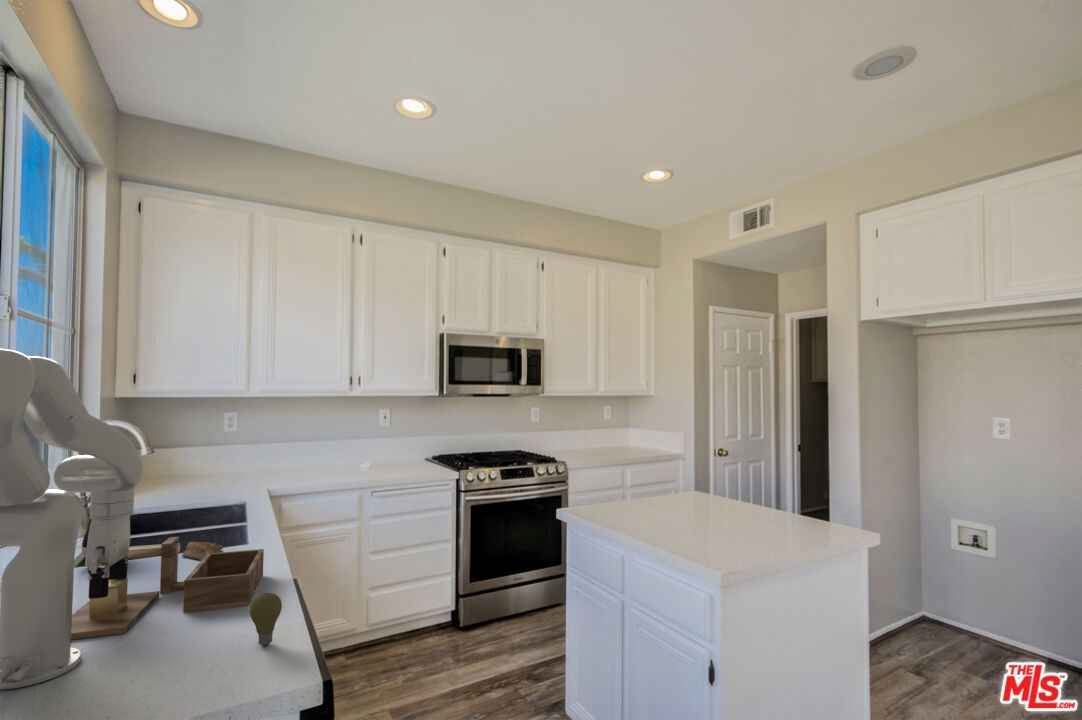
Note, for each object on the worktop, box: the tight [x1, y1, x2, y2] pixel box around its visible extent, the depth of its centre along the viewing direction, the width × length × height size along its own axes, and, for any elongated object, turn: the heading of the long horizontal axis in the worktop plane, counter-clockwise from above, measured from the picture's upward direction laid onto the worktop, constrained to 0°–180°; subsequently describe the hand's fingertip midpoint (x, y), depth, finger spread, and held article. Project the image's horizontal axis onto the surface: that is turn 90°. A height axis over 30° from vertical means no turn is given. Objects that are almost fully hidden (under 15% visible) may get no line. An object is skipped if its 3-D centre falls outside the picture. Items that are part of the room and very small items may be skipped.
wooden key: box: [127, 542, 181, 559], centre depth 134 cm, size 3×14×2 cm, turn 109°
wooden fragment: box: [181, 541, 224, 561], centre depth 164 cm, size 26×11×1 cm, turn 41°
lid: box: [71, 577, 160, 640], centre depth 119 cm, size 20×13×8 cm, turn 18°
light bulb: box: [249, 592, 283, 647], centre depth 107 cm, size 6×6×10 cm
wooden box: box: [159, 536, 265, 614], centre depth 132 cm, size 20×22×12 cm
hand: (108, 589), depth 118 cm, fingers open, 9 cm apart
